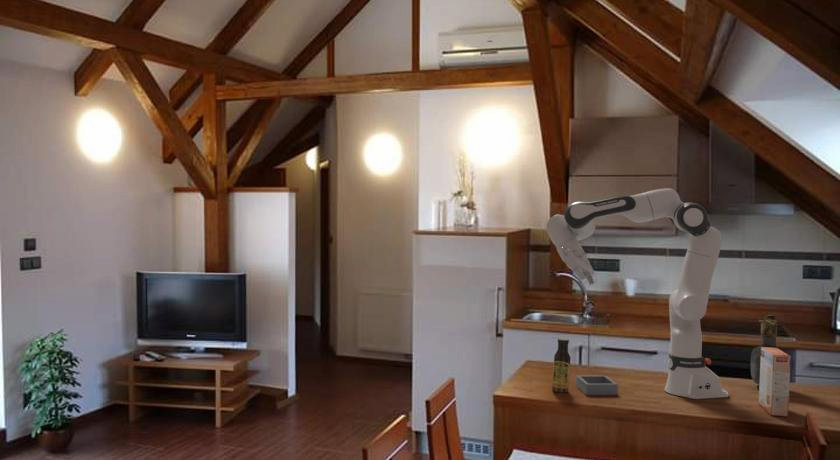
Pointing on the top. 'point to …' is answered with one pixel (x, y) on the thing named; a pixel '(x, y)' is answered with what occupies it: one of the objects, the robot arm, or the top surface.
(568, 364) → the sauce bottle
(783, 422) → the top surface
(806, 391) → the top surface
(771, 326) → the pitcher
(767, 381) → the cracker box
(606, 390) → the bottle collar
